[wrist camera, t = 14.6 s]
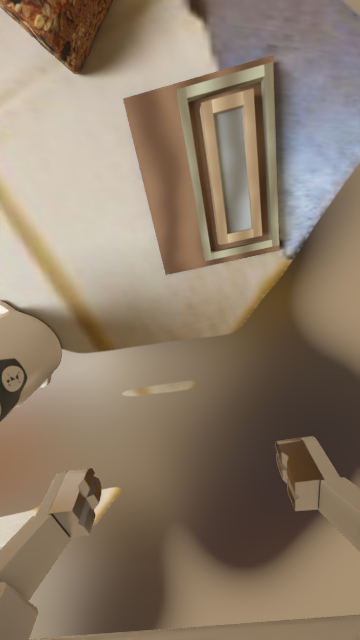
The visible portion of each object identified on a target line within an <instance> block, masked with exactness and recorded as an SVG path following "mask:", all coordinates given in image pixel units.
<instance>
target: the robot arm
mask: <svg viewBox="0 0 360 640" xmlns="http://www.w3.org/2000/svg"><path fill="white" fill-rule="evenodd" d="M61 357H62V350H61V346H60V343H59V340H58V339H57V337H56V335H55V334H54V333H53V331H52V330H51V329H50V328H49V327H48V326H47V325H46V324H44V323H43V322H41V321H40V320H38V319H37V318H35V317H32V316H30V315H27V314H24V313H21V312H19V311H17V310H15V309H14V308H12V307H11V306H9V305H8V304H6V303H5V302H2V301H0V422H1V421H2V420H3V419H4V418H5V417H6V416H7V415H8V414H9V413H10V412H11V411H12V409H13V408H14V407H19V406H20V405H22V404H23V403H24V402H25V401H26V400H27V399H28V398H29V397H30V396H31V395H32V394H33V393H34V392H35V391H36V390H37V389H38V388H41V387H46V386H47V385H48V384H49V383H50V380H51V374H52V373H53V371H54V370H55V369H56V368H57V367H58V365H59V364H60V361H61ZM276 449H277V452H278V453H277V454H276V458H277V463H278V467H279V470H280V473H281V476H282V478H283V480H284V481H285V482H286V483H287V488H288V494H289V496H290V499H291V501H292V504H293V506H294V509H295V511H303V510H315V509H319V511H320V512H321V513H322V514H323V515H324V517H326V519H327V520H328V521H329V522H330V523H331V524H333V526H334V527H335V528H336V529H337V530H338V531H339V532H340V533H341V534H342V535H343V536H344V537H345V538H346V539H347V540H348V541H349V542H350V543H351V544H352V545H353V546H354V547H355V548H356V549H357V550H358V551H359V552H360V488H358V487H357V486H355V485H354V484H353V483H351V482H350V481H349V480H347V479H346V478H340V477H339V475H338V474H337V472H336V470H335V469H334V467H333V465H332V464H331V462H330V461H329V459H328V457H327V456H326V454H325V453H324V451H323V449H322V448H321V446H320V445H319V443H318V441H317V440H316V439H315V438H314V437H313V436H310V437H304V438H295V439H289V440H283V441H277V442H276ZM94 474H95V472H94V471H93V469H92V468H89V469H81V470H74V471H65V472H59V473H58V474H57V475H56V476H55V477H54V479H53V481H52V483H51V485H50V487H49V489H48V491H47V493H46V496H45V498H44V500H43V502H42V504H41V506H40V508H39V510H38V512H37V514H36V516H33V517H31V518H30V519H29V520H28V522H27V523H26V524H25V525H24V526H23V527H22V528H21V529H20V530H19V531H18V532H17V533H16V534H15V535H14V536H13V537H12V538H11V539H10V540H9V541H8V542H7V543H6V545H5V546H4V547H3V548H2V549H1V550H0V640H360V615H347V616H334V617H321V618H307V619H293V620H280V621H267V622H255V623H254V622H253V623H240V624H228V625H214V626H202V627H187V628H174V629H161V630H147V631H135V632H121V633H107V634H94V635H80V636H68V637H54V638H41V639H29V638H30V635H31V632H32V629H33V626H34V623H35V621H36V618H37V615H38V610H37V608H36V607H35V606H34V605H33V604H31V603H30V602H29V600H30V598H31V597H32V595H33V593H34V592H35V591H36V589H37V588H38V586H39V585H40V583H41V582H42V581H43V579H44V577H45V576H46V575H47V573H48V572H49V570H50V569H51V567H52V566H53V564H54V563H55V561H56V560H57V558H58V557H59V556H60V554H61V553H62V551H63V550H64V548H65V547H66V545H67V544H68V542H69V541H70V538H72V537H79V536H86V535H89V534H90V532H91V529H92V526H93V522H94V519H95V512H94V509H95V507H96V506H97V505H98V504H99V501H100V497H101V482H100V481H99V479H98V478H96V477H95V476H94Z"/></svg>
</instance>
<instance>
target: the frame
mask: <svg viewBox="0 0 360 640" xmlns="http://www.w3.org/2000/svg"><path fill="white" fill-rule="evenodd" d="M200 115H201V123H202V130H203V137H204V145H205V152H206V159H207V166H208V174H209V181H210V188H211V196H212V203H213V210H214V217H215V225H216V232H217V239H218V244H220V245H222V244H226V243H231V242H235V241H240V240H245V239H249V238H254V237H258V236H262V223H261V206H260V189H259V172H258V156H257V139H256V122H255V105H254V89H249V90H245V91H242V92H238V93H235V94H231V95H227V96H224V97H220V98H216V99H213V100H209V101H206V102H202V103H201V106H200Z"/></svg>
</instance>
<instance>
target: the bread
mask: <svg viewBox="0 0 360 640" xmlns="http://www.w3.org/2000/svg"><path fill="white" fill-rule="evenodd" d="M111 2H112V0H0V7H1V8H2V9H3V10H4V11H5V12H6V13H7V14H8V15H9V16H11V17H12V18H13V19H14V20H15V21H16V22H18V23H19V24H20V26H21V27H22V28H24V29H25V30H26V31H27V32H28V33H29V34H30V35H31V36H32V37H34V38H35V39H36V40H37V41H38V42H39V43H40V44H41V45H42V46H43V47H44V48H45V49H46V50H48V51H49V52H50V53H51V54H52V55H54V56H55V57H56V58H57V59H58V60H59V61H60V62H62V63H63V64H64V65H65V66H66V67H67V68H68V69H69V70H71V71H72V72H73V73H74V74H78V73H79V72H80V71H81V69H82V67H83V61H84V60H86V58H87V57H88V56H89V54H90V51H91V48H92V42H93V38H94V37H95V35H96V32H97V29H98V26H99V24H101V23H102V22H103V20H104V19H105V17H106V14H107V12H108V9H109V6H110V4H111Z"/></svg>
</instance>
